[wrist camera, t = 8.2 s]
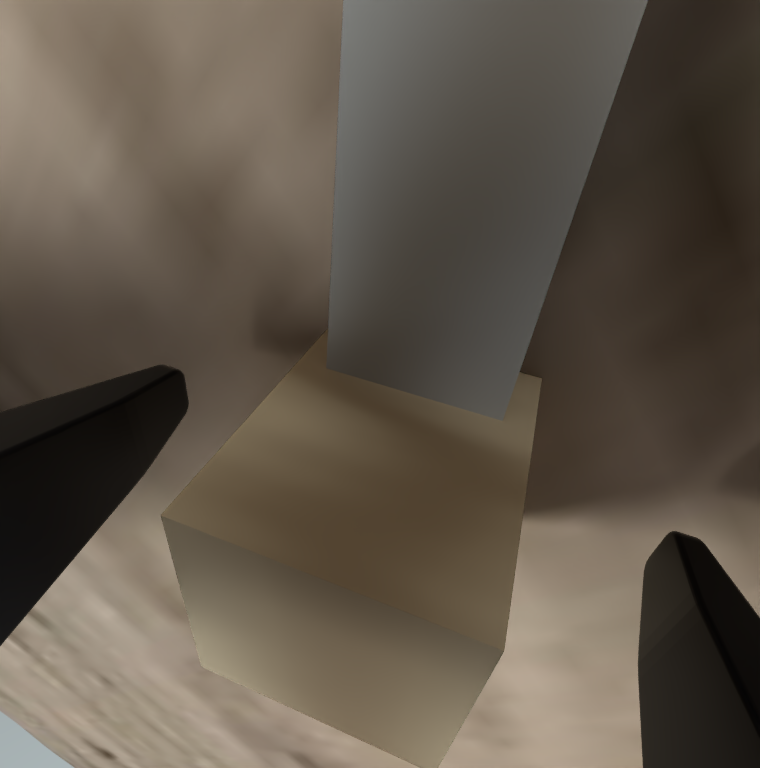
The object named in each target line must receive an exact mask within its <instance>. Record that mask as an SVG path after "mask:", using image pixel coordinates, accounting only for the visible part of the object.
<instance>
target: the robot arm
mask: <svg viewBox="0 0 760 768" xmlns="http://www.w3.org/2000/svg"><path fill="white" fill-rule="evenodd" d="M188 404H189V401H188V395H187V389H186V383H185V377H184V374H183V373H182V371H180V370H179V369H176V368H173V367H170V366H167V365H158V366H154V367H151V368H148V369H144V370H141V371H138V372H134V373H131V374H127V375H124V376H121V377H117V378H114V379H111V380H107V381H104V382H101V383H97V384H94V385H90V386H87V387H84V388H80V389H77V390H74V391H70V392H67V393H64V394H60V395H57V396H54V397H50V398H47V399H43V400H40V401H37V402H33V403H30V404H27V405H23V406H20V407H17V408H13V409H10V410H7V411H3V412H0V646H1V645H2V644H3V642H4V641H5V640H6V639H7V638H8V636H9V635H10V634H11V633H12V632H13V630H14V629H15V628H16V627H17V626H18V624H19V623H20V622H21V621H22V620H23V619H24V617H25V616H26V615H27V614H28V613H29V611H30V610H31V609H32V608H33V607H34V605H35V604H36V603H37V602H38V601H39V599H40V598H41V597H42V596H43V595H44V594H45V592H46V591H47V590H48V589H49V588H50V586H51V585H52V584H53V583H54V582H55V580H56V579H57V578H58V577H59V576H60V575H61V573H62V572H63V571H64V570H65V569H66V567H67V566H68V565H69V564H70V563H71V561H72V560H73V559H74V558H75V557H76V555H77V554H78V553H79V552H80V551H81V550H82V548H83V547H84V546H85V545H86V544H87V542H88V541H89V540H90V539H91V538H92V536H93V535H94V534H95V533H96V532H97V530H98V529H99V528H100V527H101V526H102V525H103V523H104V522H105V521H106V520H107V519H108V517H109V516H110V515H111V514H112V513H113V511H114V510H115V509H116V508H117V507H118V505H119V504H120V503H121V502H122V501H123V500H124V498H125V497H126V496H127V495H128V494H129V492H130V491H131V490H132V489H133V488H134V486H135V485H136V484H137V483H138V482H139V480H140V479H141V478H142V476H143V475H144V474H145V473H146V471H147V470H148V468H149V467H150V466H151V464H152V463H153V461H154V460H155V458H156V457H157V455H158V454H159V452H160V451H161V450H162V448H163V447H164V445H165V444H166V442H167V441H168V439H169V438H170V436H171V435H172V433H173V432H174V430H175V429H176V427H177V426H178V424H179V423H180V421H181V420H182V419H183V417H184V416H185V414H186V412H187V409H188ZM638 681H639V700H640V720H641V739H642V758H643V768H760V617H759V616H758V615H757V613H756V612H755V611H754V609H753V608H752V606H751V605H750V604H749V602H748V601H747V600H746V598H745V597H744V596H743V594H742V593H741V592H740V590H739V589H738V588H737V586H736V585H735V584H734V582H733V581H732V580H731V578H730V577H729V576H728V574H727V573H726V572H725V570H724V569H723V568H722V566H721V565H720V564H719V562H718V561H717V560H716V558H715V557H714V556H713V554H712V553H711V552H710V550H709V549H708V548H707V546H706V545H705V544H704V543H703V542H702V541H701V540H700V539H698V538H696V537H693V536H690V535H687V534H683V533H680V532H677V531H672V532H670V533H668V534H667V535H666V536H665V538H664V539H663V540H662V542H661V543H660V544H659V545H658V547H657V548H656V549H655V551H654V552H653V553H652V554H651V556H650V557H649V559H648V560H647V562H646V565H645V569H644V577H643V592H642V606H641V621H640V635H639V651H638Z"/></svg>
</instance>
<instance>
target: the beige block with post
mask: <svg viewBox="0 0 760 768" xmlns="http://www.w3.org/2000/svg"><path fill="white" fill-rule="evenodd" d="M647 2H648V0H343V19H342V41H341V62H340V84H339V105H338V126H337V148H336V169H335V191H334V212H333V234H332V255H331V276H330V298H329V319H328V329H327V330H326V331H325V332H324V333H323V334H322V335H321V337H320V338H319V339H318V340H317V341H316V342H315V343H314V344H313V345H312V347H311V348H310V349H309V350H308V351H307V352H306V353H305V354H304V356H303V357H302V358H301V359H300V360H299V361H298V362H297V363H296V364H295V366H294V367H293V368H292V369H291V370H290V371H289V372H288V373H287V375H286V376H285V377H284V378H283V379H282V380H281V381H280V382H279V383H278V385H277V386H276V387H275V388H274V389H273V390H272V391H271V392H270V394H269V395H268V396H267V397H266V398H265V399H264V400H263V401H262V402H261V404H260V405H259V406H258V407H257V408H256V409H255V410H254V411H253V413H252V414H251V415H250V416H249V417H248V418H247V419H246V420H245V421H244V423H243V424H242V425H241V426H240V427H239V428H238V429H237V430H236V432H235V433H234V434H233V435H232V436H231V437H230V438H229V439H228V440H227V442H226V443H225V444H224V445H223V446H222V447H221V448H220V449H219V451H218V452H217V453H216V454H215V455H214V456H213V457H212V458H211V459H210V461H209V462H208V463H207V464H206V465H205V466H204V467H203V468H202V470H201V471H200V472H199V473H198V474H197V475H196V476H195V477H194V478H193V480H192V481H191V482H190V483H189V484H188V485H187V486H186V487H185V489H184V490H183V491H182V492H181V493H180V494H179V495H178V496H177V498H176V499H175V500H174V501H173V502H172V503H171V504H170V505H169V506H168V508H167V509H166V510H165V511H164V512H163V513H162V514H161V518H162V522H163V526H164V530H165V533H166V537H167V541H168V545H169V548H170V552H171V556H172V559H173V563H174V567H175V571H176V574H177V578H178V582H179V585H180V589H181V593H182V597H183V600H184V604H185V608H186V611H187V615H188V619H189V623H190V626H191V630H192V634H193V638H194V641H195V645H196V649H197V652H198V656H199V660H200V664H201V667H203V668H205V669H207V670H209V671H212V672H214V673H216V674H218V675H220V676H222V677H225V678H227V679H229V680H231V681H233V682H235V683H238V684H240V685H242V686H244V687H246V688H249V689H251V690H253V691H255V692H257V693H259V694H262V695H264V696H266V697H268V698H270V699H272V700H275V701H277V702H279V703H281V704H283V705H285V706H288V707H290V708H292V709H294V710H296V711H298V712H301V713H303V714H305V715H307V716H309V717H312V718H314V719H316V720H318V721H320V722H322V723H325V724H327V725H329V726H331V727H333V728H335V729H338V730H340V731H342V732H344V733H346V734H348V735H351V736H353V737H355V738H357V739H359V740H361V741H364V742H366V743H368V744H370V745H372V746H375V747H377V748H379V749H381V750H383V751H385V752H388V753H390V754H392V755H394V756H396V757H398V758H401V759H403V760H405V761H407V762H409V763H411V764H414V765H416V766H418V767H420V768H438V767H439V765H440V763H441V761H442V760H443V758H444V756H445V754H446V753H447V751H448V749H449V747H450V746H451V744H452V742H453V740H454V739H455V737H456V735H457V733H458V731H459V730H460V728H461V726H462V724H463V723H464V721H465V719H466V717H467V716H468V714H469V712H470V710H471V709H472V707H473V705H474V703H475V701H476V700H477V698H478V696H479V694H480V693H481V691H482V689H483V687H484V686H485V684H486V682H487V680H488V679H489V677H490V675H491V673H492V672H493V670H494V668H495V666H496V664H497V663H498V661H499V659H500V657H501V656H502V654H503V652H504V648H505V641H506V634H507V627H508V619H509V612H510V605H511V598H512V591H513V583H514V576H515V569H516V562H517V555H518V547H519V540H520V533H521V526H522V519H523V511H524V504H525V497H526V490H527V483H528V475H529V468H530V461H531V454H532V447H533V439H534V432H535V425H536V418H537V410H538V403H539V396H540V389H541V382H542V378H538V377H535V376H531V375H528V374H524V373H520V369H521V366H522V363H523V360H524V358H525V355H526V352H527V349H528V346H529V343H530V340H531V337H532V334H533V331H534V329H535V326H536V323H537V320H538V317H539V314H540V311H541V308H542V305H543V303H544V300H545V297H546V294H547V291H548V288H549V285H550V282H551V279H552V277H553V274H554V271H555V268H556V265H557V262H558V259H559V256H560V253H561V251H562V248H563V245H564V242H565V239H566V236H567V233H568V230H569V227H570V225H571V222H572V219H573V216H574V213H575V210H576V207H577V204H578V201H579V199H580V196H581V193H582V190H583V187H584V184H585V181H586V178H587V175H588V173H589V170H590V167H591V164H592V161H593V158H594V155H595V152H596V149H597V147H598V144H599V141H600V138H601V135H602V132H603V129H604V126H605V123H606V120H607V118H608V115H609V112H610V109H611V106H612V103H613V100H614V97H615V94H616V92H617V89H618V86H619V83H620V80H621V77H622V74H623V71H624V68H625V66H626V63H627V60H628V57H629V54H630V51H631V48H632V45H633V42H634V40H635V37H636V34H637V31H638V28H639V25H640V22H641V19H642V16H643V14H644V11H645V8H646V5H647Z"/></svg>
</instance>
